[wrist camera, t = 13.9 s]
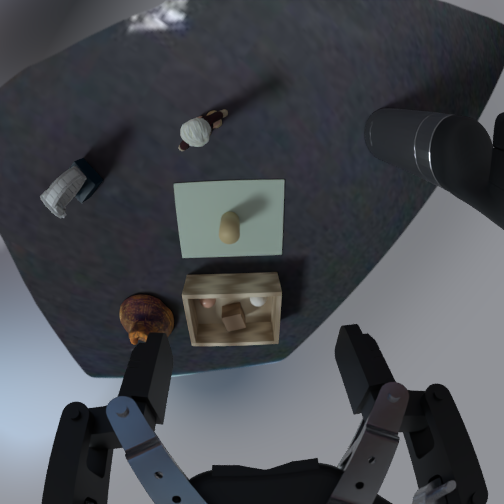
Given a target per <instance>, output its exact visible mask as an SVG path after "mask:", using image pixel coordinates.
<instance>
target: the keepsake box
mask: <svg viewBox="0 0 504 504" xmlns="http://www.w3.org/2000/svg"><path fill="white" fill-rule="evenodd" d="M250 297H267V300H266V302H265V304H264V305H262V306H254V305H253V304H252V303H251V301H250ZM182 298H183V303H184V309H185V314H186V319H187V324H188V329H189V334H190V338H191V343H192V346H237V345H262V344H278V341H279V328H280V314H281V300H282V290H281V286H280V282H279V277H278V273H277V272H266V273H237V274H201V275H187V277H186V281H185V285H184V289H183V293H182ZM208 298H216V303H215V304H214V306H212V307H210V308H205V307H203V306H202V305H201V304H200V301H199V299H208ZM237 302H240V303H241V306H242V308H243V311H244V313H245V319H246V328H242V329H238V330H233V331H229V332H228V331H227V329H226V327H225V325H224V323H223V320H222V306H225V305H229V304H233V303H237Z"/></svg>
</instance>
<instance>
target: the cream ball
mask: <svg viewBox="0 0 504 504" xmlns="http://www.w3.org/2000/svg"><path fill="white" fill-rule="evenodd" d="M266 300H267V297H250V301H251V303H252V304H253V305H254V306H262V305H264V304H265V302H266Z"/></svg>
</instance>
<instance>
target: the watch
mask: <svg viewBox="0 0 504 504" xmlns="http://www.w3.org/2000/svg"><path fill="white" fill-rule="evenodd" d="M102 181H103V179H102V178H101V177H100V176H99V174H98V173H97V172H96V171H95V170H94V169H93V168H92V167H91V166H90V165H89V164H88V163H87V161H86V160H85V159H84V158H82V159H79V160H77V161H74V162H73V164H72V165H71V167H70V168H69V169H68V170H67V171H66V172H64V173H63V174H62V175H61V176H59V178H57V179H56V180H55V181H54V183H53V184H52V185H51V186H50V188H49V189H48V190H46V191H45V192H44V193H43V194H42V195H41V196H40V198H41V200H42V202H43V203H44V204H45V205H46V207H47V208H48V209H49V210H50V211H51V212H52V213H53V214H55V215H56V216H57V217H59V218H61V217H63V218H64V217H65V216H66V215H67V214H66V213H65V211H66V210H65V209H66V208H65V206H66V205H67V204H68V203H69V202H70V201H71V200H72V199H73V198H74V197H76V198H77V199H78V200H79V201H80V202H81V203H83V202H84V201H86V200H87V199H88V198H90V197H91V195H92V194H93V193H94V191H95V190H96V189H97V188H98V186H99V185H100V184H101V183H102ZM59 185H60V186H61V187H60V186H59ZM66 194H67V195H68V196H69V197H68V196H67V195H66ZM72 195H73V196H74V197H73V196H72ZM68 199H69V200H68Z"/></svg>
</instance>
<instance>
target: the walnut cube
mask: <svg viewBox="0 0 504 504" xmlns="http://www.w3.org/2000/svg"><path fill="white" fill-rule="evenodd" d="M222 320H223V323H224V325H225V327H226V329H227V331H228V332H229V331H233V330H238V329H242V328H246V319H245V313H244V311H243V308H242V306H241V303H240V302H237V303H233V304H229V305H225V306H222Z"/></svg>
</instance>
